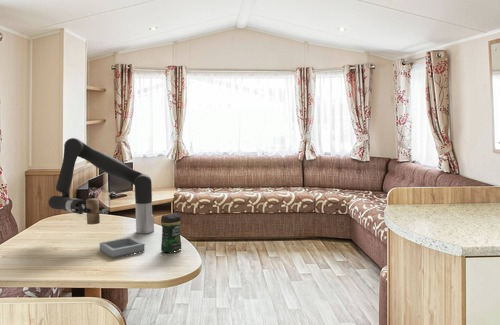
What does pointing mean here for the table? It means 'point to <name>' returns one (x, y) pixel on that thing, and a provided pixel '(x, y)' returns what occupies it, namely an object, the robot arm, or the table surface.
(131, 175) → the robot arm
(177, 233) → the coffee jar
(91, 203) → the brown cylinder
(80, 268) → the table surface
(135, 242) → the grey tub
